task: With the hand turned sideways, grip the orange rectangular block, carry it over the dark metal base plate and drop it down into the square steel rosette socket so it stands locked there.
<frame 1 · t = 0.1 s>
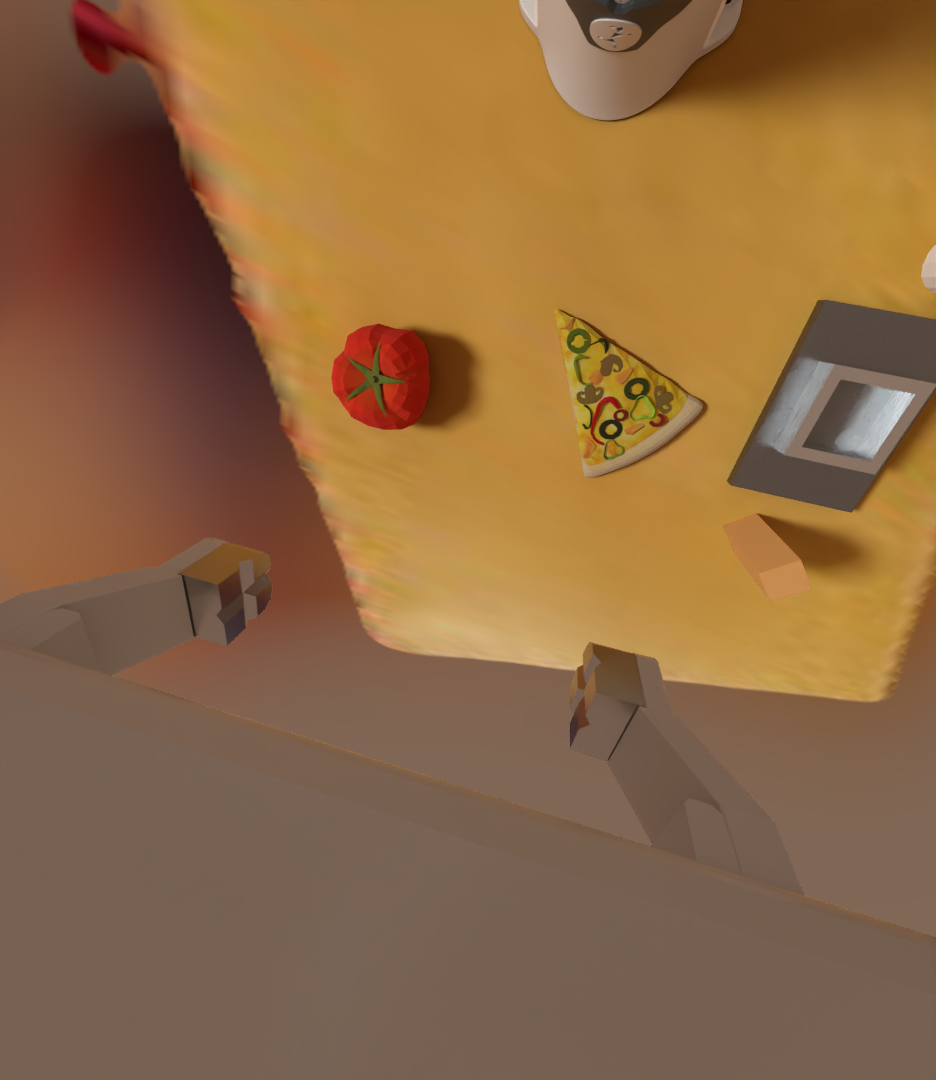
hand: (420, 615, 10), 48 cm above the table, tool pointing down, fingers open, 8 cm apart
pizza slice: (603, 383, 52), on the table
orange rectangular block: (744, 532, 55), on the table
tomato: (397, 374, 56), on the table
rosette plate: (832, 413, 47), on the table
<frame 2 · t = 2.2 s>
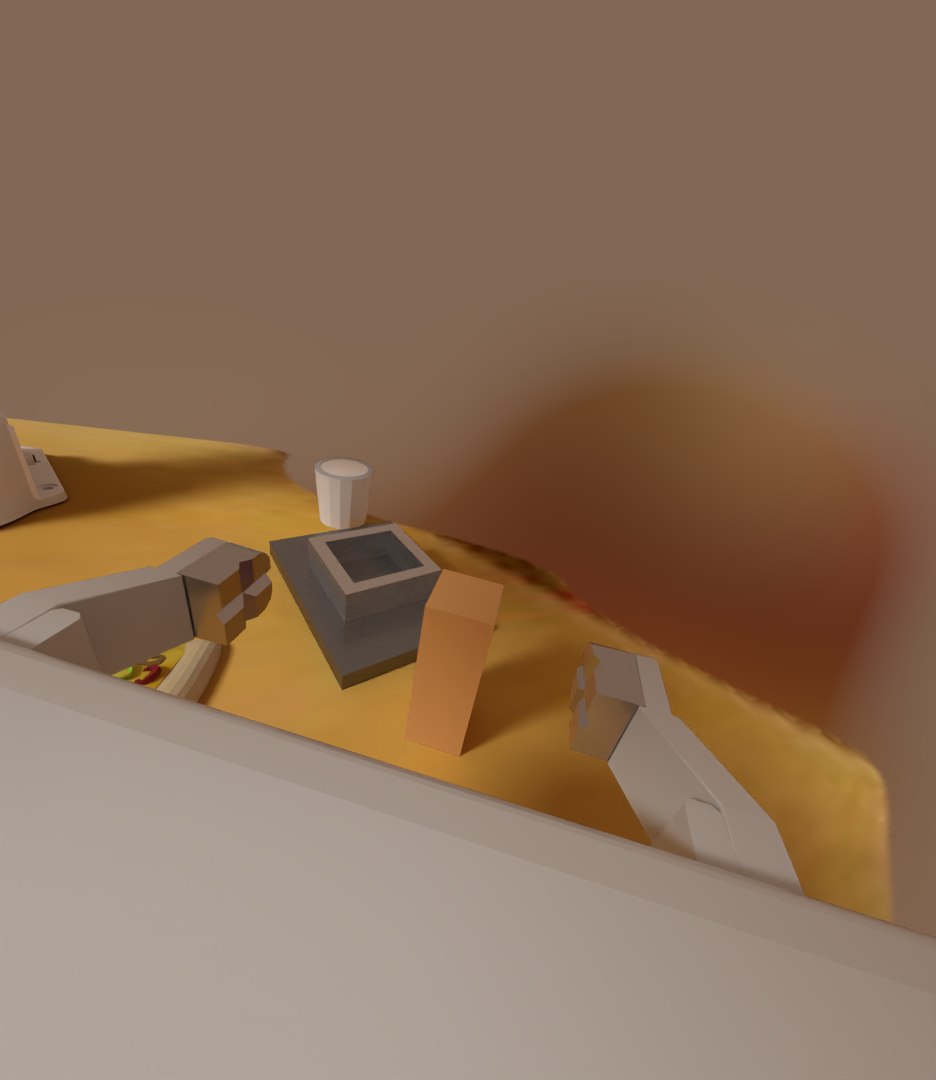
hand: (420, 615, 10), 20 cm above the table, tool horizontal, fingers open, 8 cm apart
white tapered cup: (343, 519, 54), on the table
pizza slice: (18, 714, 27), on the table
orange rectangular block: (439, 723, 31), on the table
rosette plate: (371, 591, 43), on the table
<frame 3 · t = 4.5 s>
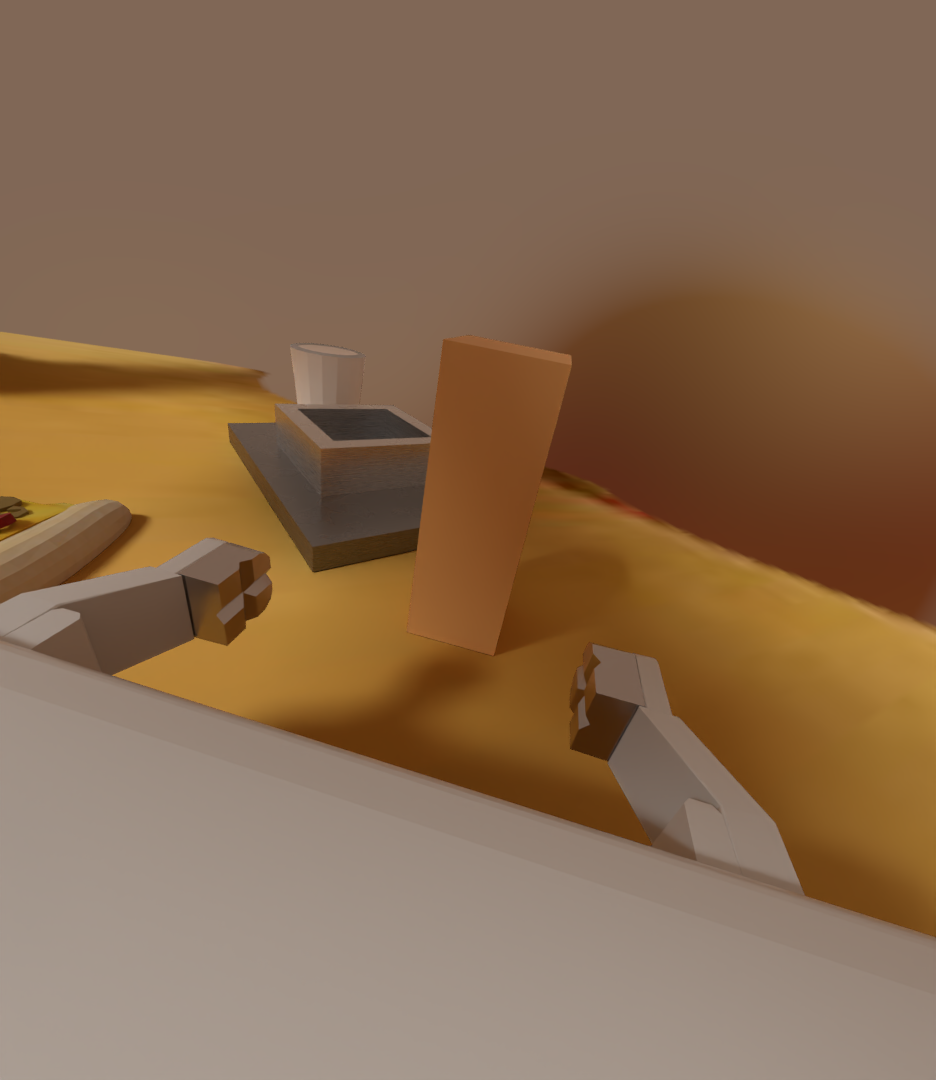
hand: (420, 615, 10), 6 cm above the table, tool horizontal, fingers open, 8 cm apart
white tapered cup: (328, 424, 44), on the table
orange rectangular block: (459, 616, 20), on the table
rosette plate: (361, 481, 32), on the table
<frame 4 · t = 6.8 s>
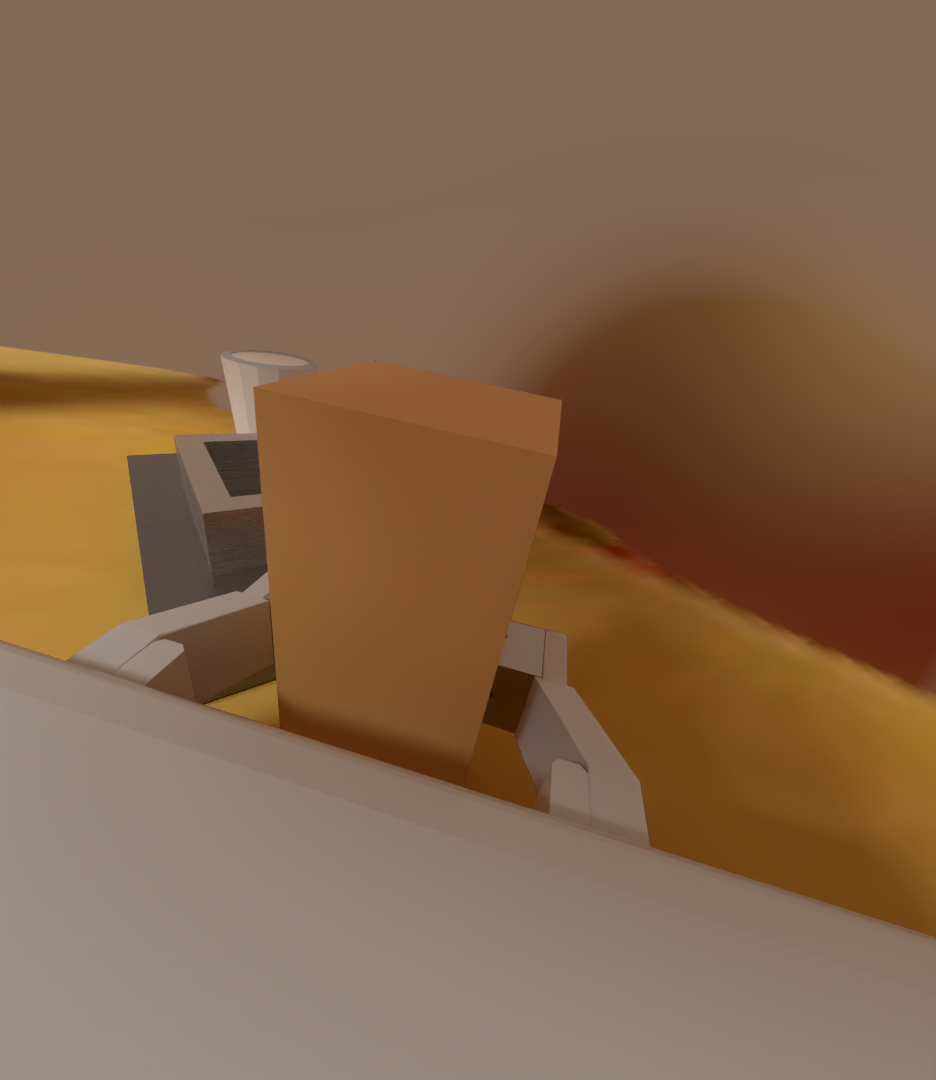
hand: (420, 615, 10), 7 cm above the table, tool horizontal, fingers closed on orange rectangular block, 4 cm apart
white tapered cup: (276, 447, 36), on the table
orange rectangular block: (387, 798, 13), on the table, touching gripper
rosette plate: (293, 535, 25), on the table
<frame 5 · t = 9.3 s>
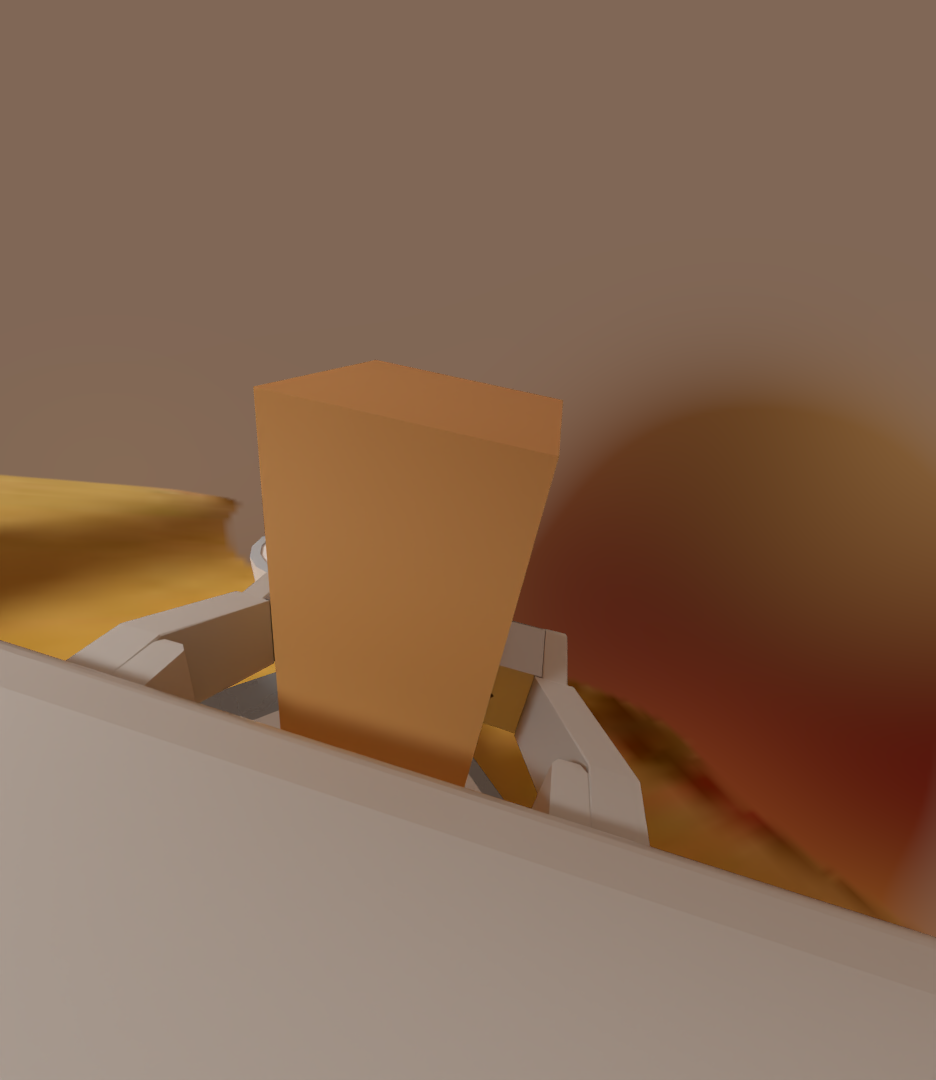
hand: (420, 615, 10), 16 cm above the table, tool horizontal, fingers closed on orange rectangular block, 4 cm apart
white tapered cup: (307, 627, 33), on the table
orange rectangular block: (388, 798, 13), point 10 cm above the table, touching gripper
rosette plate: (345, 828, 21), on the table
when the fingers open (9 cm above the table, at t = 11.9 s): orange rectangular block drops 1 cm, resting on rosette plate.
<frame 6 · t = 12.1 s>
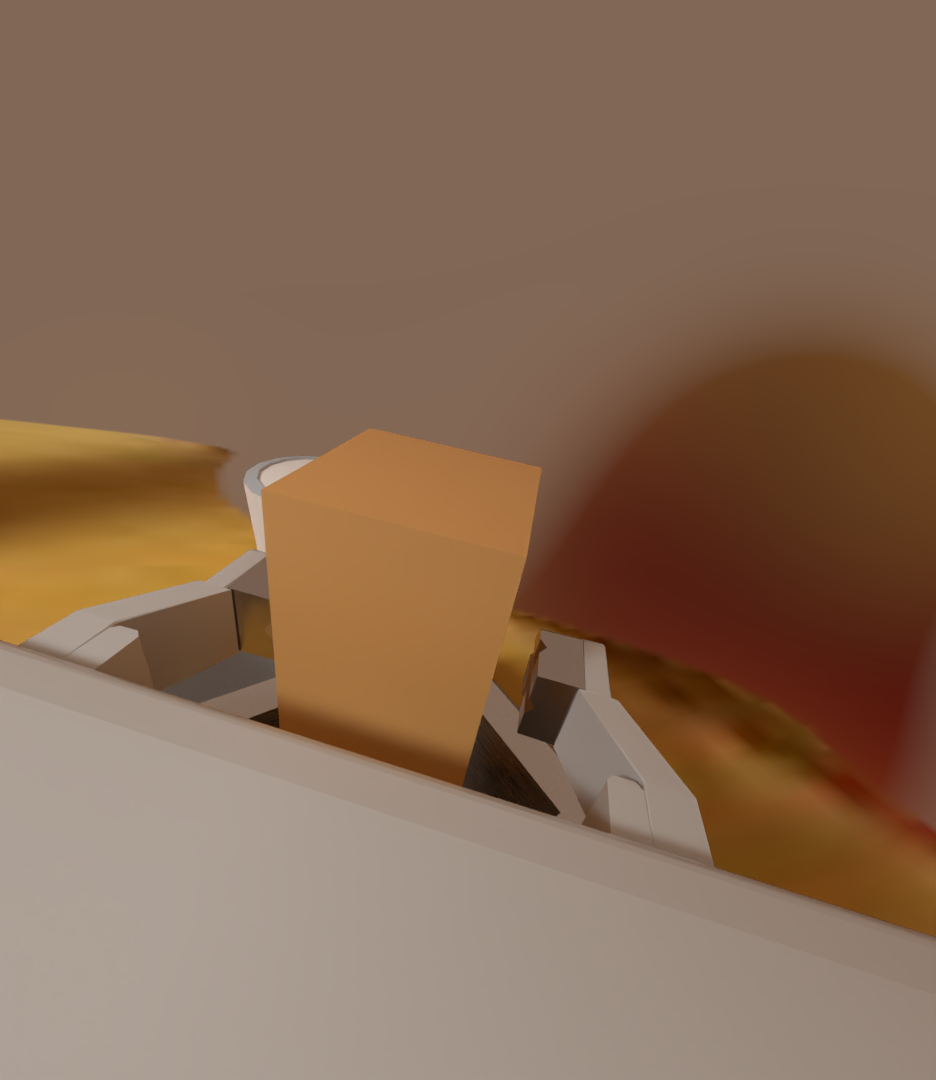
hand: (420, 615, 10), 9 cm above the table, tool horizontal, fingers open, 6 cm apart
white tapered cup: (316, 585, 26), on the table
orange rectangular block: (383, 822, 14), point 1 cm above the table, touching rosette plate
rosette plate: (380, 846, 14), on the table
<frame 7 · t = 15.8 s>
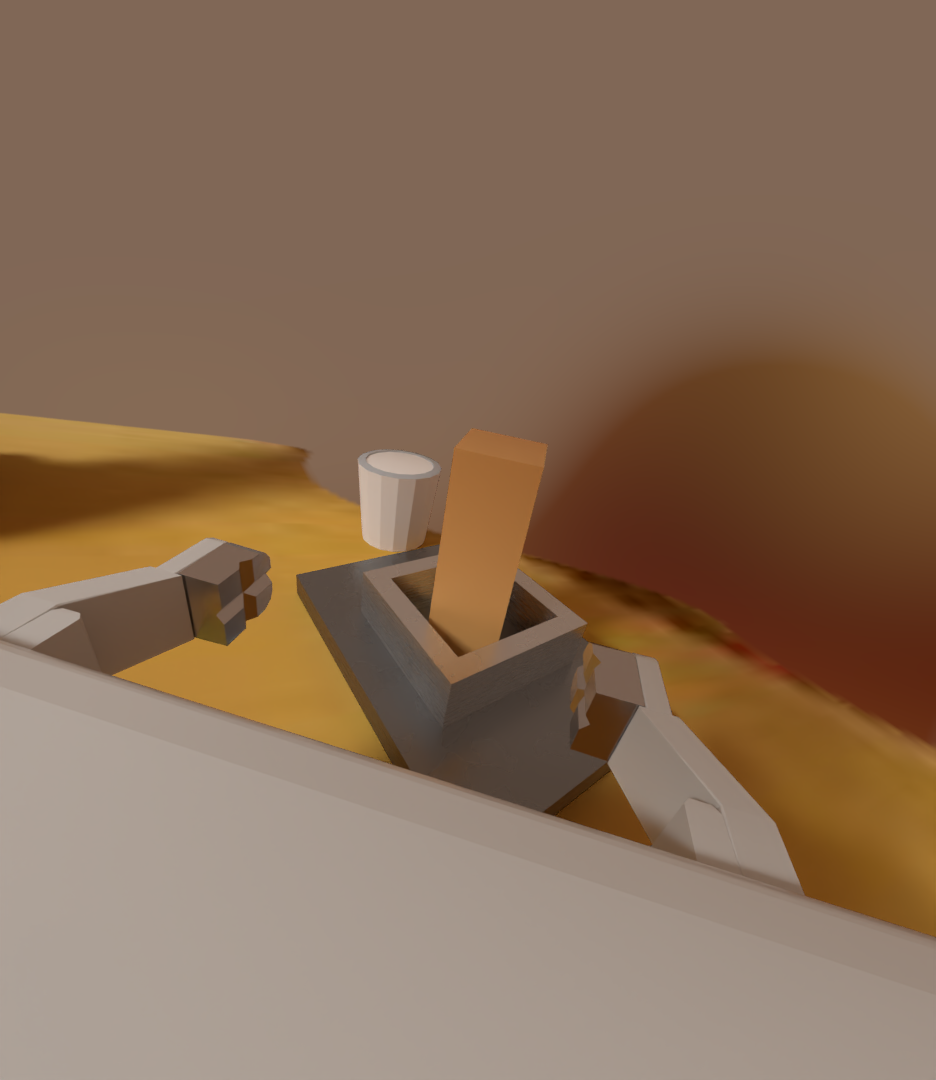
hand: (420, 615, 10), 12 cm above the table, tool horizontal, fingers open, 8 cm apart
white tapered cup: (393, 537, 38), on the table
orange rectangular block: (465, 635, 26), point 1 cm above the table, touching rosette plate
rosette plate: (461, 654, 27), on the table
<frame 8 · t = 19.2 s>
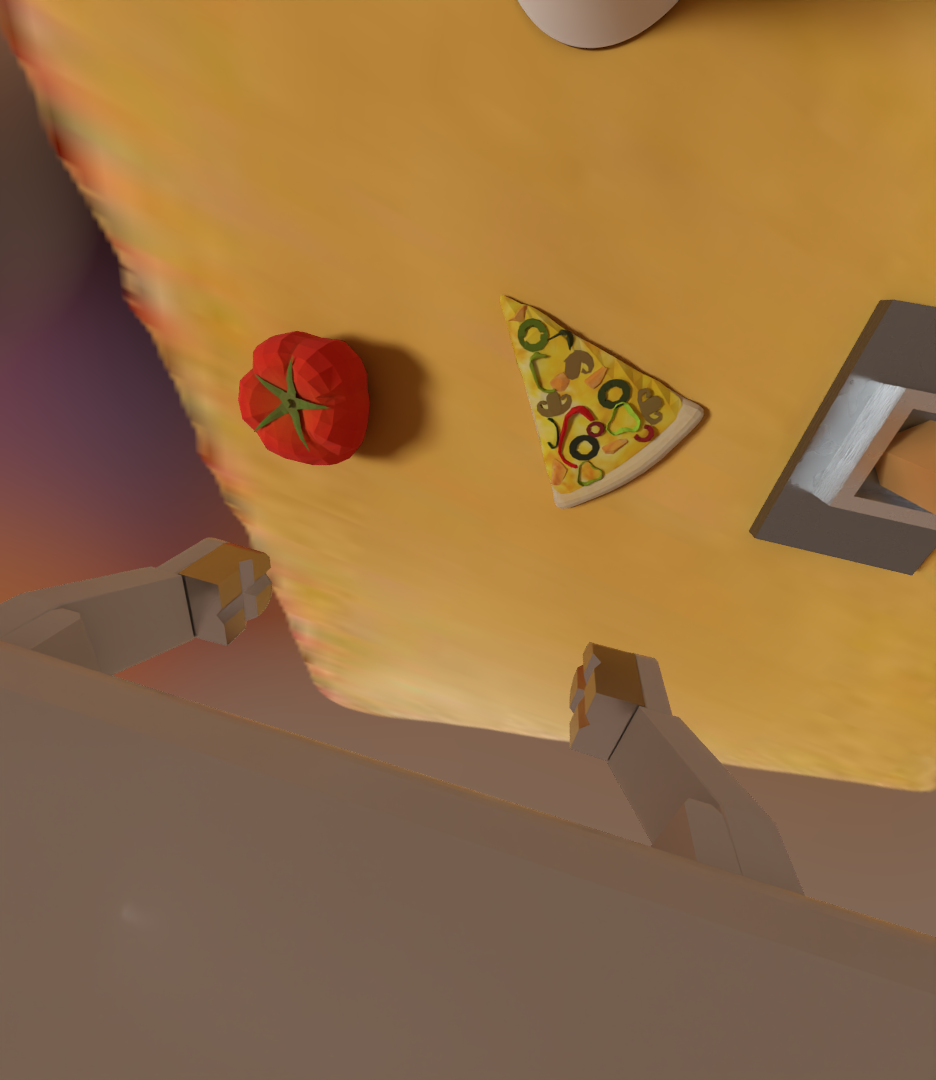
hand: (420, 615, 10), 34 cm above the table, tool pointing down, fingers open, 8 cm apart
pizza slice: (572, 389, 40), on the table
orange rectangular block: (904, 453, 35), point 1 cm above the table, touching rosette plate
tomato: (333, 394, 44), on the table
rosette plate: (891, 449, 36), on the table
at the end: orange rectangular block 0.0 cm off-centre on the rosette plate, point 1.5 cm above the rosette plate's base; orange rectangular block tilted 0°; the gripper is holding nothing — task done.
